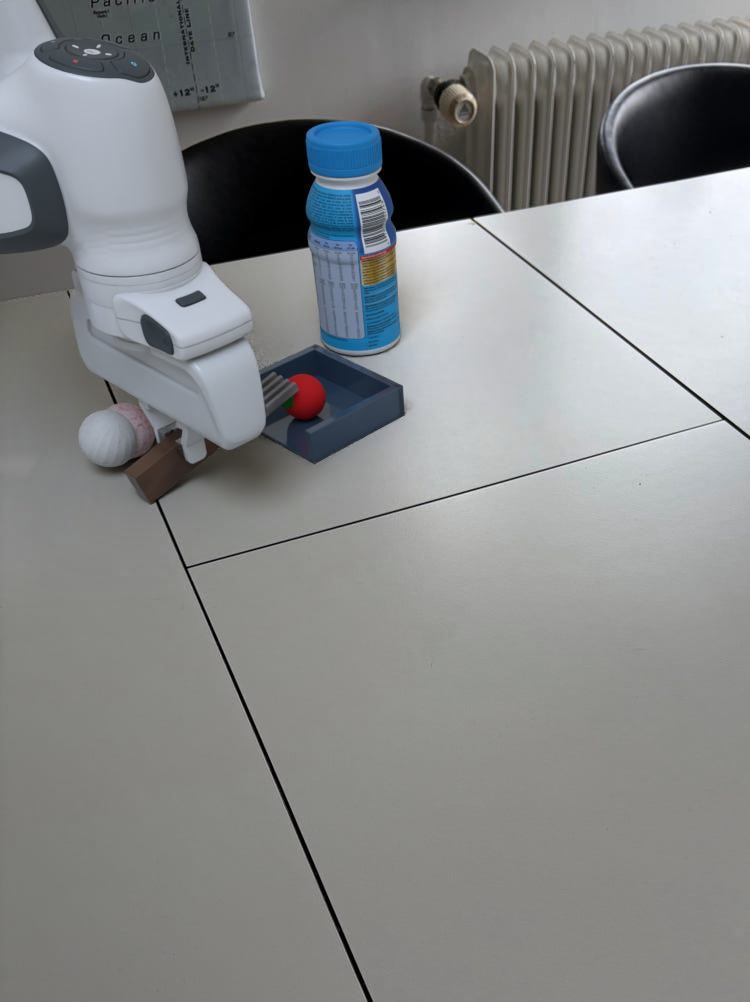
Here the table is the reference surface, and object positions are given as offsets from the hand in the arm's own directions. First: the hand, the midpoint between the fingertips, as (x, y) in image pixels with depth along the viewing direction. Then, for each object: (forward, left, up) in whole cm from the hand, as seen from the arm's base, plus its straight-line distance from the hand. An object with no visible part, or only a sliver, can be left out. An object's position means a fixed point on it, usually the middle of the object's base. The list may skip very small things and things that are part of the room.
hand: (182, 451), depth 86 cm
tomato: (0, +13, 0) cm, 13 cm away
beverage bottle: (-8, +27, -3) cm, 28 cm away
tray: (0, +14, -3) cm, 14 cm away
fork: (0, +4, 0) cm, 4 cm away
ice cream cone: (-8, +1, -3) cm, 9 cm away
